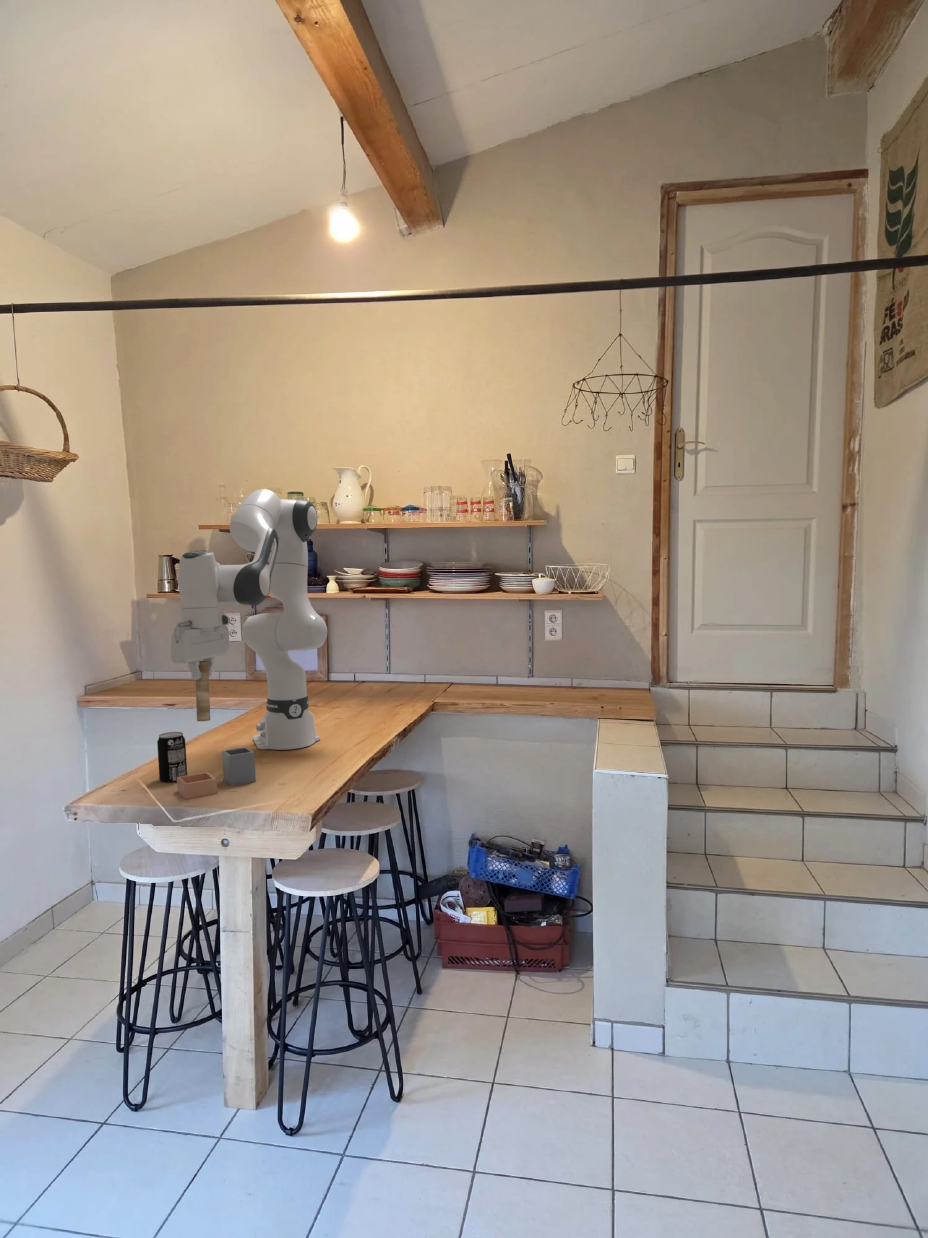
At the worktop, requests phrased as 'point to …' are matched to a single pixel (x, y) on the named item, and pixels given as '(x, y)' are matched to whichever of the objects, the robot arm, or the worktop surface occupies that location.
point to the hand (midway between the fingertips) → (201, 678)
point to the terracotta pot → (196, 785)
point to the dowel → (203, 693)
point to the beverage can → (171, 756)
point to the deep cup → (238, 766)
